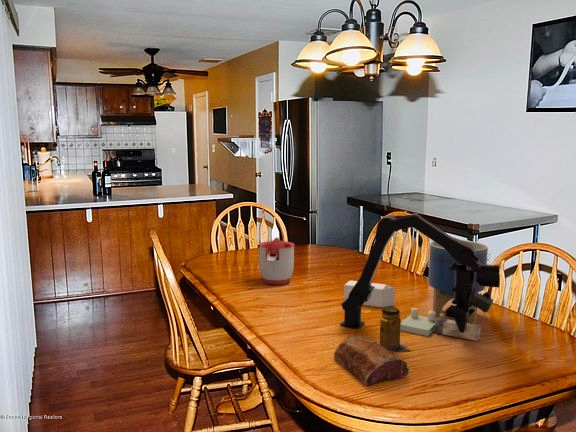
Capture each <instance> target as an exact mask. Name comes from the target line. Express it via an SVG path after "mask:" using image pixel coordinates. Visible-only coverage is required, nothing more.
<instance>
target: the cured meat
mask: <svg viewBox="0 0 576 432" xmlns="http://www.w3.org/2000/svg"><path fill="white" fill-rule="evenodd" d="M378 343H379V342H377V341H374V340H372V339H370V338H367V337H365V336H362V335H352V336H348V337H347V338H346V339H344V340H343V341H342V342H341V343H340V344H339V345H338V346H337V347H336V348H335V351H334V353H333V354H334V355H333V357H334V359H335V360H336V361H337V362H338V363H339V364H340V365H341V366H342V367H343V368H344V369H345V370H346V371H347V372H348V373H350V374H351V375H353V376H354V377H355V378H356V379H357V380H359V381H360V382H361V384H363V385H364V386H365V387H371V386H373V385H374V384H375V383H378V382H380V381H383V380H384V379H387V380H388V381H389V382H392V381H397V380H402V379H404V378H406V377H407V376H408V375H409V373H410V372H409V371H410V369H409V367H408V364H407V362H406V361H405V360H403V359H401V358H400V357H398V356H397V355H396V354H394V352H390V351H389V350H388V349H386V348H385V347H384V346H382V345H380V344H378Z"/></svg>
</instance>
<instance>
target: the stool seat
mask: <svg viewBox="0 0 576 432" xmlns="http://www.w3.org/2000/svg"><path fill="white" fill-rule="evenodd" d="M410 309H411V310H410V315H409V316H407V317H406V318H404V320H401V326H400V332H401V331H402V332H406V333H410V334H411V333H412V334H416V335H420V336H425V337H429V336H431V334H432V333H433V332H435V320H436V319H435V314H436V312H434V311H433V310H428V312H427V314H428V315H427V316H423V315H419V308H417V307H411V308H410Z"/></svg>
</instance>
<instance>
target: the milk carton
mask: <svg viewBox="0 0 576 432" xmlns="http://www.w3.org/2000/svg"><path fill="white" fill-rule="evenodd" d="M357 281H358V280H352V279H351V280H349V281H347V282H346V283H345V284H344V287H343V288H344V289H343V302H344V301H345V300H346V299H347V298H348V296H349V293H350V292H351V290H352V289H353V287H354V286H355V284H356V283H357ZM371 286H374V287H375V288H374V289H373V291H372V293H371V297H370V299H369V300H368V301H367V302H366V301H365V303H364V304H363V305H362V306H367V307H374V308H375V307H376V308H386V307H395V300H396V299H395V297H396V288H395V287H392V286H390V285H388V284H383V283H377V282H372V283H371Z"/></svg>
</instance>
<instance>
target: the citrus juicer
mask: <svg viewBox="0 0 576 432" xmlns="http://www.w3.org/2000/svg"><path fill="white" fill-rule="evenodd" d="M258 246H259V270H260V274H261V278H262V281H263V282H264V283H265V284H269V285H281V286H282V285H283V286H284V285H286V284H288V283H290V281H291V280H292V276H293V274H294V264H295V243H294V242H290V241H285V240H281V239H280V238H279V237H275V238H274V239H273V240H269V241H263V242H260V243H259V244H258Z"/></svg>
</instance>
